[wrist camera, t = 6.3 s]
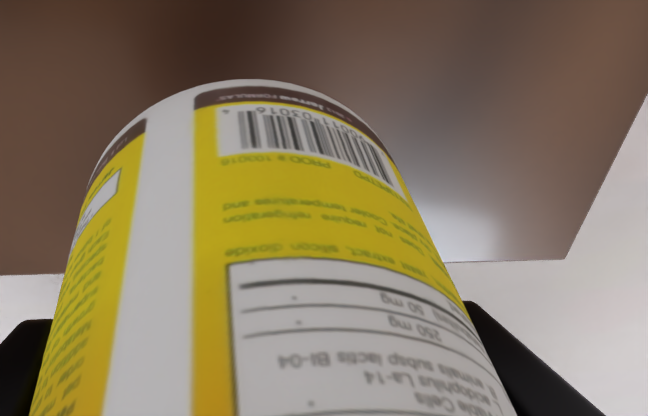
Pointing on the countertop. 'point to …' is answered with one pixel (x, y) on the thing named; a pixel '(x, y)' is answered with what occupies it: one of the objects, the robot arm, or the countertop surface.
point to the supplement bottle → (257, 273)
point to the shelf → (344, 87)
